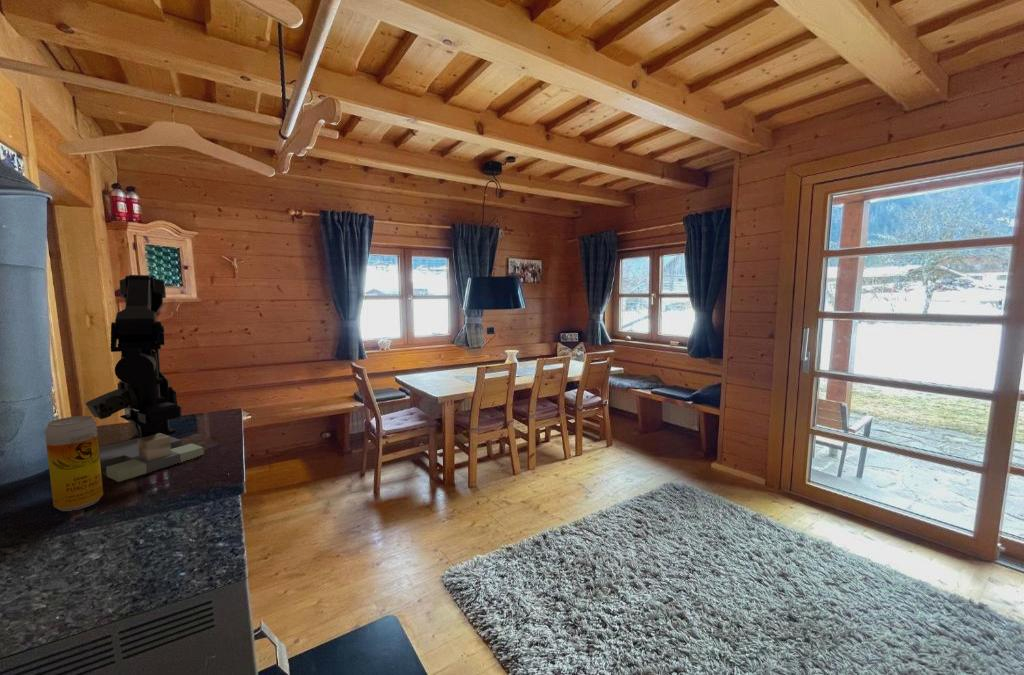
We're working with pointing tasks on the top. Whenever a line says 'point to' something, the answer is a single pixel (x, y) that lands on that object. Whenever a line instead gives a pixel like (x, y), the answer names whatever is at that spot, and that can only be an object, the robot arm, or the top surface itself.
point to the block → (154, 446)
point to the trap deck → (127, 464)
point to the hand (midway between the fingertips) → (146, 446)
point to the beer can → (74, 462)
